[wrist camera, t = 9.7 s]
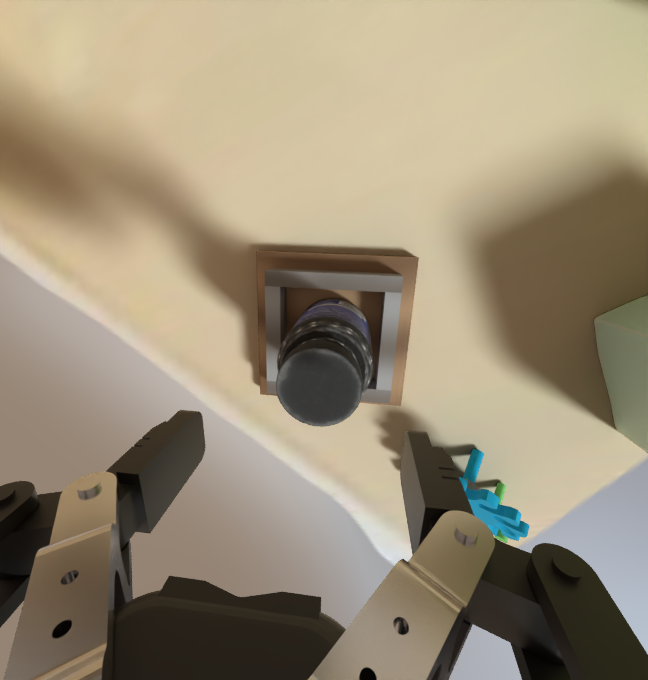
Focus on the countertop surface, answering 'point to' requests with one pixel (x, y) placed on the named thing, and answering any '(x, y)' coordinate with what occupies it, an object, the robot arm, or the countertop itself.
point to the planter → (626, 366)
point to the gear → (491, 504)
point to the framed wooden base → (345, 283)
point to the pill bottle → (325, 363)
